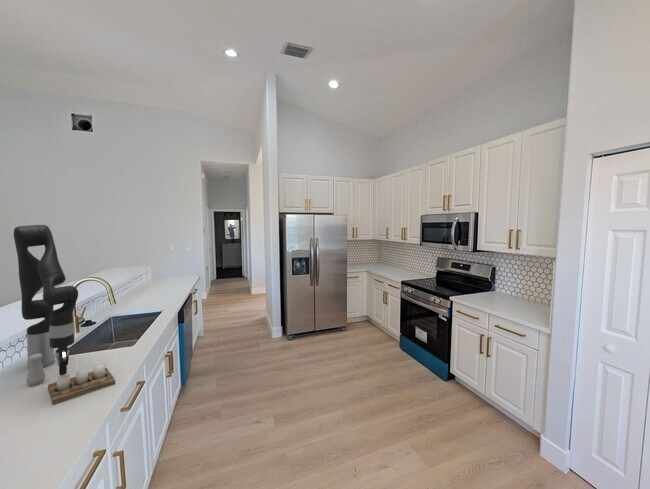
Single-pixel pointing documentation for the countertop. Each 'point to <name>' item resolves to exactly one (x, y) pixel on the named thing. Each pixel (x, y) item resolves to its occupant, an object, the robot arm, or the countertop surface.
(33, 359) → the salt shaker
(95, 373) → the button
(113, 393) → the countertop surface
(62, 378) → the white domed cylinder
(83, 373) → the button
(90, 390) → the board
